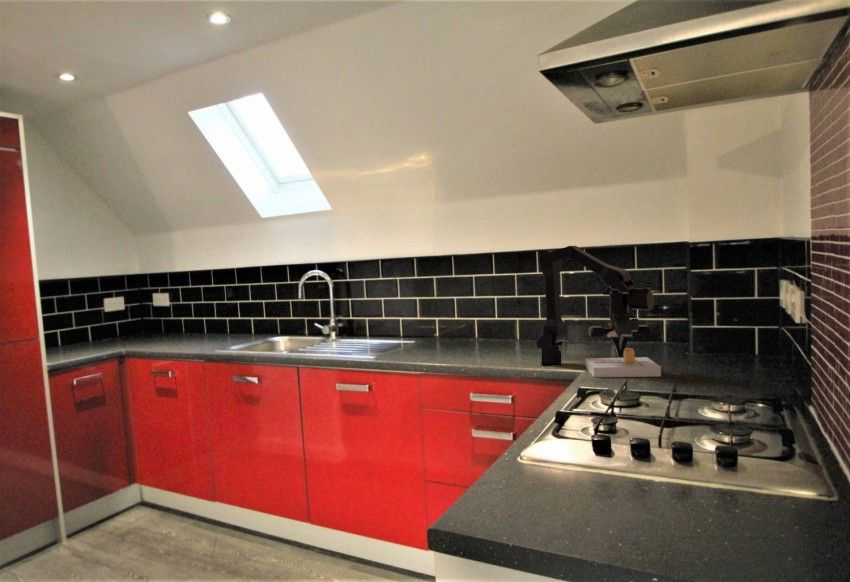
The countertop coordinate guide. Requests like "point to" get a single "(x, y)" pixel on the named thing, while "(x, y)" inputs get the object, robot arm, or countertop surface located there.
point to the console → (622, 367)
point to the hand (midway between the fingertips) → (620, 357)
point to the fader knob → (629, 355)
